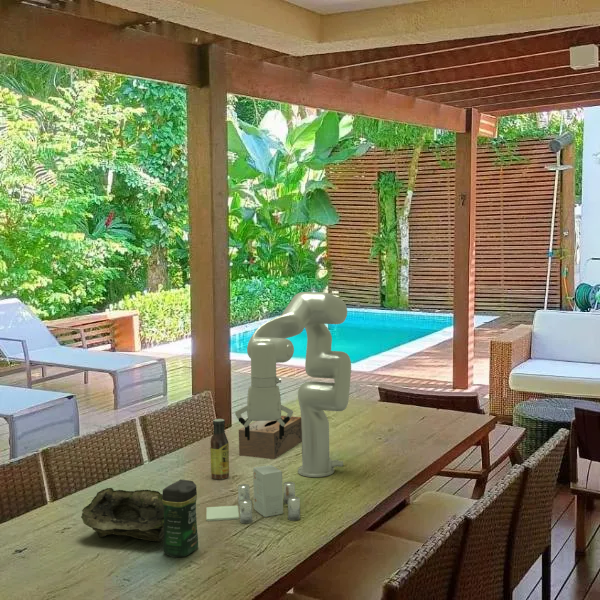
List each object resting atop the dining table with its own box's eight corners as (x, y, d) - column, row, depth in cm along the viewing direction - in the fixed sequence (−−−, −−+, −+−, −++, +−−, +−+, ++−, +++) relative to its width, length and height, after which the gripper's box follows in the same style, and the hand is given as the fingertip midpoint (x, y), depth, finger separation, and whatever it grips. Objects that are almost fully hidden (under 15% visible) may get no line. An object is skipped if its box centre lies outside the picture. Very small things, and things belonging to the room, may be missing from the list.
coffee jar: (186, 560, 212) (183, 490, 210) (159, 556, 214) (156, 487, 213) (203, 546, 221) (201, 478, 219) (177, 542, 223) (174, 476, 222)
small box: (283, 513, 244) (282, 471, 242) (264, 517, 241) (263, 474, 240) (272, 505, 251) (271, 464, 250) (253, 509, 248) (252, 467, 247)
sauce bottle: (226, 480, 276) (224, 422, 274) (208, 479, 278) (206, 422, 276) (231, 474, 283) (230, 418, 281) (214, 473, 284) (212, 417, 282)
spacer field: (294, 500, 256) (294, 481, 255) (300, 520, 238) (300, 500, 238) (238, 503, 254) (237, 484, 253) (240, 523, 236) (239, 503, 236)
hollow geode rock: (177, 560, 223) (197, 509, 231) (157, 541, 214) (179, 489, 222) (94, 542, 235) (116, 494, 243) (72, 523, 225) (95, 474, 233)
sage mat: (238, 507, 250) (237, 505, 250) (239, 519, 240) (239, 517, 240) (206, 509, 249) (206, 507, 249) (206, 521, 239) (206, 519, 239)
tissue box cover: (269, 438, 330) (268, 414, 329) (302, 442, 324) (301, 417, 323) (239, 456, 306) (238, 429, 305) (274, 459, 300) (273, 433, 299)
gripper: (292, 379, 248) (292, 435, 250) (234, 380, 248) (235, 436, 249) (293, 384, 241) (294, 441, 242) (234, 385, 240) (235, 442, 241)
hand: (264, 438), depth 246 cm, fingers open, 9 cm apart
